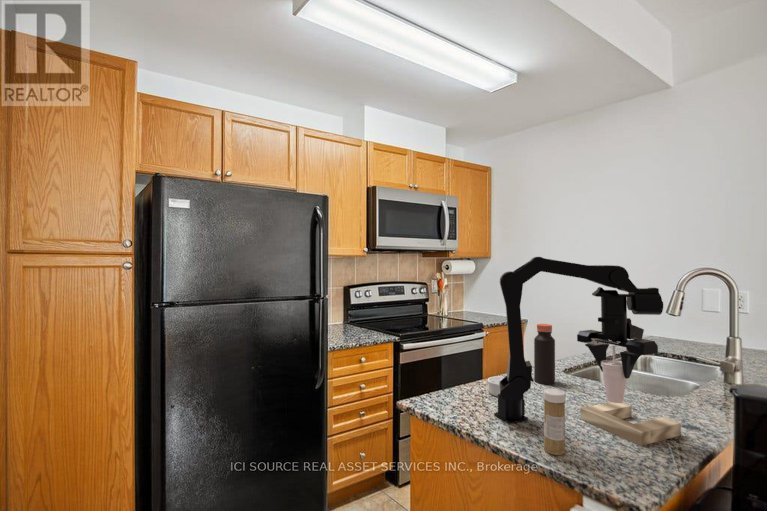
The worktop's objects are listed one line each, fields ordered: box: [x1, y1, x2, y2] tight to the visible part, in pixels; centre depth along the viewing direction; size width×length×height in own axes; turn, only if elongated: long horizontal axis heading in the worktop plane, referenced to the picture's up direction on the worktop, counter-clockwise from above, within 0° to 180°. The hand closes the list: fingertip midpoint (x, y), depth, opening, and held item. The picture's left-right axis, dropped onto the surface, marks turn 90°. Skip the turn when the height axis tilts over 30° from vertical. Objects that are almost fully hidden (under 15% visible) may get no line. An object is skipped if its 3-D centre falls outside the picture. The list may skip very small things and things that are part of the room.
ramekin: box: [487, 376, 505, 398], centre depth 129 cm, size 9×9×4 cm
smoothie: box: [601, 345, 627, 403], centre depth 103 cm, size 6×6×14 cm
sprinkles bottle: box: [543, 388, 567, 456], centre depth 90 cm, size 5×5×14 cm
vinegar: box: [533, 323, 556, 385], centre depth 142 cm, size 7×7×20 cm
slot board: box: [579, 401, 682, 447], centre depth 103 cm, size 14×17×3 cm
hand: (615, 375), depth 103 cm, fingers closed on smoothie, 6 cm apart
